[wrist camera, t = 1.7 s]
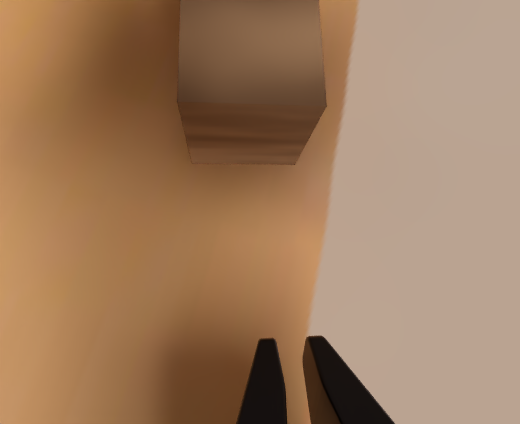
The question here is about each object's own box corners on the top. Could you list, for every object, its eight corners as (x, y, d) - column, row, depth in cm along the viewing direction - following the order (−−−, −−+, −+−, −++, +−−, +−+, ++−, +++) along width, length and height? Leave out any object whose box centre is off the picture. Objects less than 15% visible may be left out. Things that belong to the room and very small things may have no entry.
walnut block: (294, 165, 25) (326, 106, 17) (192, 164, 24) (177, 101, 16) (285, -4, 28) (310, -119, 20) (195, -10, 27) (184, -131, 20)
